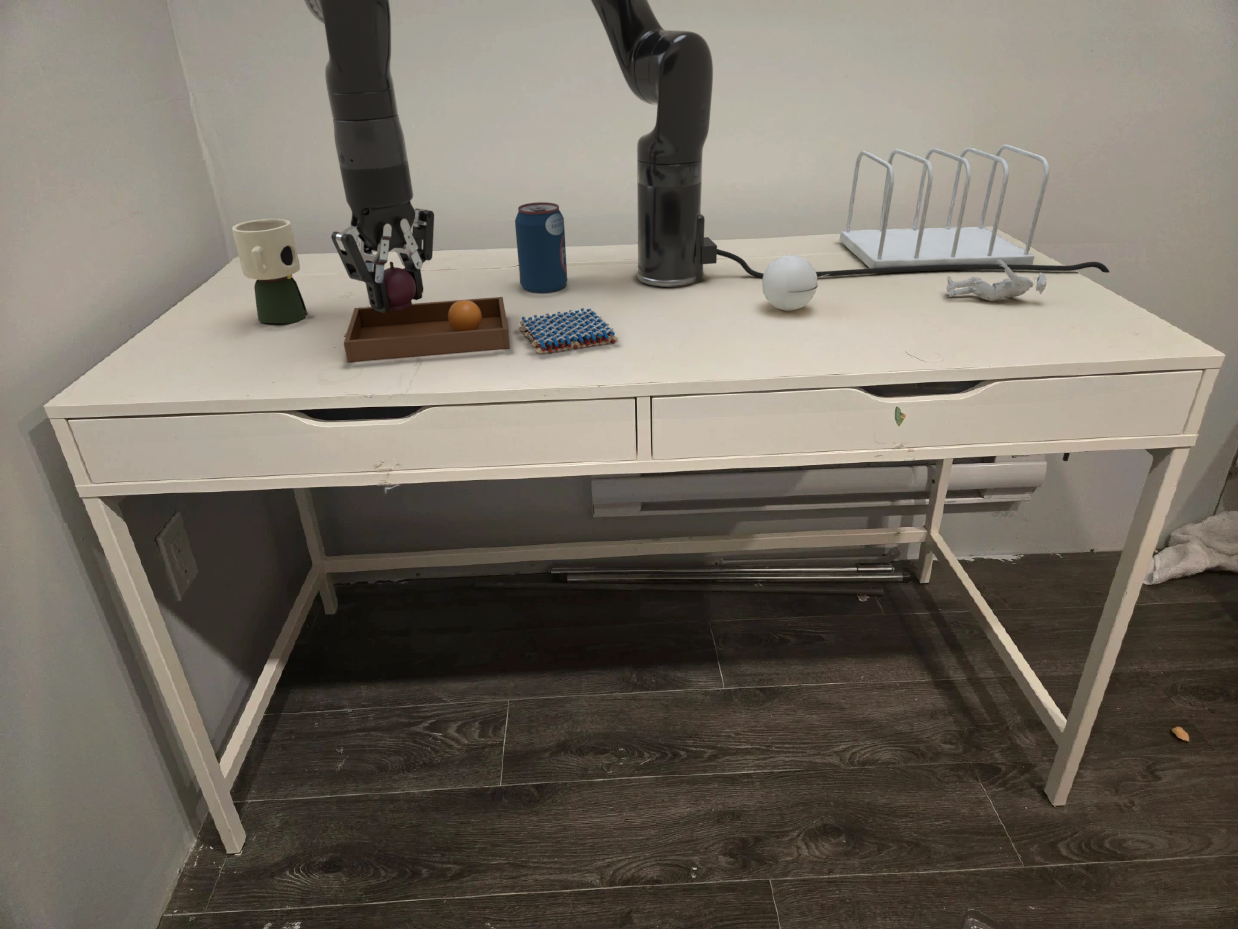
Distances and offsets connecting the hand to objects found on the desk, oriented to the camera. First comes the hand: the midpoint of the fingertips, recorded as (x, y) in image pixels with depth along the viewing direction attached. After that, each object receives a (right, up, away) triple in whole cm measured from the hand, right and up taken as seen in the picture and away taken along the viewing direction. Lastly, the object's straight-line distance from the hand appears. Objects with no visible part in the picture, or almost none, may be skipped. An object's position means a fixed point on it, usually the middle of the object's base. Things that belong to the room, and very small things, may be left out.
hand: (398, 303), depth 100 cm
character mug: (-18, -1, +10) cm, 21 cm away
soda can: (+16, +6, +20) cm, 26 cm away
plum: (0, 0, 0) cm, 0 cm away
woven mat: (+21, -4, +3) cm, 21 cm away
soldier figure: (+79, +3, +12) cm, 80 cm away
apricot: (+8, -3, +4) cm, 9 cm away
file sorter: (+78, +14, +31) cm, 85 cm away
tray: (+3, -4, +3) cm, 6 cm away
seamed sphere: (+51, +1, +11) cm, 53 cm away
